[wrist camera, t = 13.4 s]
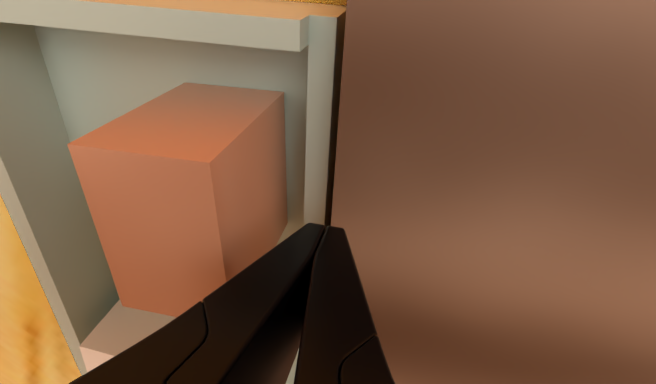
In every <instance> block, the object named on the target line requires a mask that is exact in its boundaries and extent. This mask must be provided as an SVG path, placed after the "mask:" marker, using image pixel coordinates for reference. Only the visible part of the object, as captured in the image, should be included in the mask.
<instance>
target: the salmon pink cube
mask: <svg viewBox="0 0 656 384" xmlns="http://www.w3.org/2000/svg"><path fill="white" fill-rule="evenodd" d="M67 145H68V148H69V151H70V154H71V157H72V160H73V163H74V166H75V169H76V172H77V175H78V178H79V180H80V183H81V186H82V189H83V192H84V195H85V198H86V201H87V204H88V207H89V210H90V213H91V216H92V219H93V221H94V224H95V227H96V230H97V233H98V236H99V239H100V242H101V245H102V248H103V251H104V254H105V257H106V259H107V262H108V265H109V268H110V271H111V274H112V277H113V280H114V283H115V286H116V289H117V292H118V295H119V298H120V300H121V303H122V306H124V307H129V308H134V309H139V310H144V311H149V312H154V313H159V314H164V315H168V316H173V317H178V316H179V315H181V314H182V313H184V312H185V311H187V310H188V309H189V308H191V307H192V306H193V305H195V304H196V303H198V302H199V301H202V300H203V298H205V297H206V296H207V295H209V294H210V293H212V292H213V291H214V290H216V289H217V288H219V287H220V286H221V285H223V284H224V283H225V282H227V281H228V280H230V279H231V278H232V277H234V276H235V275H236V274H238V273H239V272H241V271H242V270H243V269H245V268H246V267H248V266H249V265H250V264H252V263H253V262H254V261H256V260H257V259H259V258H260V257H261V256H263V255H264V254H265V253H267V252H268V251H270V250H271V249H272V248H274V247H275V246H276V245H277V243H278V241H279V239H280V237H281V235H282V233H283V231H284V229H285V227H286V225H287V223H288V217H287V181H286V145H285V109H284V92H280V91H270V90H259V89H249V88H239V87H228V86H218V85H208V84H197V83H187V82H185V83H183V84H181V85H179V86H177V87H175V88H174V89H172V90H170V91H168V92H166V93H164V94H162V95H160V96H158V97H156V98H154V99H152V100H151V101H149V102H147V103H145V104H143V105H141V106H139V107H137V108H135V109H133V110H131V111H130V112H128V113H126V114H124V115H122V116H120V117H118V118H116V119H114V120H112V121H110V122H108V123H107V124H105V125H103V126H101V127H99V128H97V129H95V130H93V131H91V132H89V133H87V134H86V135H84V136H82V137H80V138H78V139H76V140H74V141H72V142H70V143H68V144H67ZM202 302H203V301H202Z"/></svg>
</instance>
